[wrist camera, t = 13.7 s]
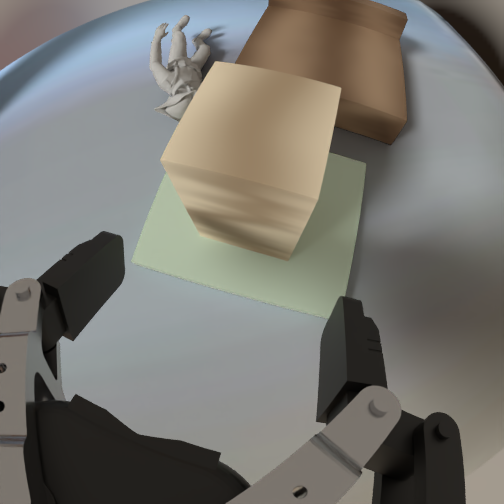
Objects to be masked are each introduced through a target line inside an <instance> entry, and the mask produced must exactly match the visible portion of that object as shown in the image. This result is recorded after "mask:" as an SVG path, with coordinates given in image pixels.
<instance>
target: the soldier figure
mask: <svg viewBox="0 0 504 504" xmlns="http://www.w3.org/2000/svg"><path fill="white" fill-rule="evenodd" d="M189 19H190V17H189V16H187V15H185V16H183V17H182V18H181V19H180V21H179V22H178V24H177V25H176V26H175V27H174V28H173V29H172V32H173V34H172V37H173V38H172V40H171V42H172V46H171V49H170V54H169V60H168V65H167V68H165V67H164V66H163V65H162V64H161V62H162V56H161V43H160V42H161V39H162V38H163V37H165V36H166V35H167V34H168V32H167V33H165V29H166V27H167V26H168V24H166V23H165V24H164V23H163V24H161V25H160V26H159V27H158V28H157V29H156V31H155V36H154V38H153V42H151V43H152V45H151V52H150V69H151V71H152V72H153V76H154V77H155V80H156V81H157V83H158V86H160V88H161V89H162V90H164V91H165V92H167V93H168V94H169V95H171V96H172V97H171V96H169V98H168V100H167V102H165V103H164V104H162V105H161V106H159V107H157V108H155V111H157V112H159V113H162V114H165V115H166V116H168V117H170V118H173V119H175V120H177V121H179V122H180V120H181V118H182V117H183V115H184V113H185V111H186V109H187V108H188V106H189V104H190V102H191V101H192V99H193V97H194V95H195V94H196V92H197V90H198V89H199V87H200V85H201V81H202V73H201V69H202V67H203V65H204V64H205V63H206V61H207V59H208V57H209V55H210V54H211V52H210V46H209V45H206V44H205V43H204V42H203V41H204V40H205V39H207V38H208V37H209V36H210V34H211V32H212V30H211V29H205V30H204V31H202V33H201V34H200V35H199V36H198V37H196V38H194V39H193V40H192V43H193V44H194V46H195V47H196V50H197V51H196V52H195V53H194V55H193V56H192V57H191V58H188V57H187V52H186V45H187V44H186V38H185V35H184V33H183V32H181V30H182V29H183V28H184V27H185V26H186V25H187V24H188V22H189ZM163 27H164V28H163Z"/></svg>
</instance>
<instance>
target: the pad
mask: <svg viewBox="0 0 504 504" xmlns="http://www.w3.org/2000/svg"><path fill="white" fill-rule="evenodd" d="M365 173H366V163H363V162H360V161H357V160H354V159H350V158H347V157H344V156H341V155H337V154H334V153H331V152H329V154H328V158H327V163H326V168H325V172H324V177H323V181H322V186H321V190H320V194H319V199H318V201H317V203H316V205H315V208H314V210H313V212H312V214H311V216H310V218H309V220H308V222H307V224H306V226H305V228H304V230H303V232H302V234H301V236H300V238H299V240H298V242H297V244H296V246H295V248H294V250H293V252H292V254H291V256H290V258H289V260H288V261H285V260H282V259H278V258H275V257H271V256H268V255H265V254H261V253H258V252H254V251H251V250H247V249H244V248H240V247H237V246H233V245H230V244H227V243H223V242H220V241H216V240H213V239H209V238H206V237H202V236H200V234H199V232H198V231H197V229H196V227H195V225H194V223H193V221H192V219H191V218H190V216H189V214H188V212H187V210H186V208H185V206H184V205H183V203H182V201H181V199H180V197H179V195H178V193H177V191H176V189H175V188H174V186H173V184H172V182H171V180H170V178H169V176H168V174H167V172H166V173H165V175H164V178H163V180H162V182H161V185H160V187H159V189H158V192H157V194H156V197H155V199H154V202H153V204H152V207H151V209H150V212H149V214H148V217H147V219H146V222H145V225H144V227H143V230H142V233H141V235H140V238H139V241H138V244H137V246H136V249H135V252H134V255H133V258H132V261H131V262H133V263H134V264H136V265H139V266H142V267H145V268H148V269H151V270H154V271H158V272H161V273H164V274H167V275H170V276H174V277H177V278H180V279H183V280H187V281H190V282H193V283H197V284H200V285H203V286H207V287H210V288H214V289H217V290H221V291H224V292H228V293H231V294H235V295H238V296H242V297H245V298H249V299H253V300H256V301H260V302H264V303H267V304H271V305H275V306H279V307H282V308H286V309H290V310H294V311H298V312H302V313H306V314H310V315H314V316H318V317H322V318H326V319H329V317H330V315H331V313H332V311H333V308H334V306H335V304H336V302H337V300H338V298H339V297H340V296H344V297H345V294H346V289H347V284H348V280H349V275H350V270H351V264H352V259H353V254H354V248H355V242H356V237H357V230H358V224H359V218H360V211H361V204H362V197H363V189H364V181H365Z"/></svg>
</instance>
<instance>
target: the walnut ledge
mask: <svg viewBox="0 0 504 504" xmlns="http://www.w3.org/2000/svg"><path fill="white" fill-rule="evenodd" d="M407 20H408V19H407V16H406V13H404V12H401V11H399V10H396V9H393V8H391V7H388V6H385V5H382V4H379V3H376V2H373V1H370V0H269V5H268V7H267V9H266V10H265V12H264V14H263V15H262V17H261V19H260V20H259V22H258V24H257V25H256V27H255V29H254V30H253V32H252V34H251V36H250V37H249V39H248V41H247V42H246V44H245V46H244V48H243V50H242V51H241V53H240V55H239V57H238V59H237V60H236V62H235V64H240V65H246V66H252V67H258V68H263V69H268V70H273V71H278V72H283V73H287V74H292V75H296V76H300V77H304V78H308V79H312V80H316V81H320V82H323V83H327V84H330V85H334V86H337V87H340V88H341V93H340V98H339V104H338V109H337V114H336V119H335V125H334V126H335V127H338V128H342V129H345V130H348V131H351V132H355V133H358V134H361V135H364V136H367V137H370V138H373V139H376V140H378V141H381V142H384V143H387V144H390V145H391V144H392V143H393V141H394V140H395V139H396V137H397V136H398V134H399V133H400V131H401V130H402V128H403V126H404V125H405V123H406V122H407V109H406V93H405V81H404V71H403V63H402V55H401V47H400V41H399V39H400V37H401V35H402V32H403V30H404V28H405V25H406V23H407Z"/></svg>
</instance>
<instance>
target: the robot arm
mask: <svg viewBox="0 0 504 504" xmlns="http://www.w3.org/2000/svg"><path fill="white" fill-rule="evenodd" d="M124 275H125V264H124V247H123V239H122V237H121V236H119V235H116V234H112V233H109V232H106V231H102V232H101V233H99V234H98V235H97V236H96V237H94V238H93V239H92V240H89V241H86V242H84V243H82V244H79V245H77V246H76V247H75V248H74V249H72V250H71V251H70V252H69V254H66V255H65V256H64V257H63V258H62V260H59V261H58V262H57V263H55V264H54V265H53V266H52V267H51V268H50V269H48V270H47V271H46V272H45V273H44V274H43V275H42V276H40V277H39V278H38V279H37V280H35V279H31V278H24V279H20V280H17V281H15V282H14V283H12V284H11V285H10V286H9V287H3V286H0V504H336V503H337V502H338V501H339V500H340V499H341V498H342V497H343V496H344V495H345V494H346V493H347V491H348V490H349V489H350V488H351V487H352V486H353V485H354V484H355V483H356V481H357V480H358V479H359V477H360V476H361V474H362V471H361V469H362V468H363V467H364V468H366V469H369V470H372V471H374V472H375V473H374V486H373V497H372V504H466V501H465V500H466V499H465V479H464V466H463V456H462V447H461V440H460V433H459V429H458V426H457V424H456V422H455V421H454V420H453V419H452V418H451V417H450V416H449V415H447V414H445V413H441V412H436V413H433V414H431V415H429V416H428V417H427V418H426V419H425V420H424V419H421V418H419V417H416V416H414V415H412V414H409V413H407V412H405V411H403V410H401V405H400V402H399V400H398V399H397V397H396V396H395V395H394V394H393V393H392V392H391V391H390V390H388V388H387V381H386V373H385V366H384V359H383V353H382V347H381V344H380V335H379V330H378V328H377V326H376V325H375V323H374V322H373V320H372V318H369V317H365V316H364V313H363V306H362V302H361V300H356V299H352V298H348V297H344V296H340V297H339V298H338V300H337V302H336V304H335V306H334V308H333V311H332V313H331V315H330V317H329V319H328V321H327V324H326V326H325V328H324V331H323V334H322V338H321V346H320V369H319V387H318V403H317V416H316V422H321V423H326V427H325V428H324V429H323V430H322V431H321V432H320V433H318V434H316V435H315V436H313V437H312V438H311V439H310V440H309V441H308V442H306V443H305V444H304V445H303V446H302V447H301V448H300V449H298V450H297V451H296V452H295V453H294V454H292V455H291V456H290V457H289V458H288V459H286V460H285V461H284V462H283V463H281V464H280V465H279V466H278V467H276V468H275V469H274V470H272V471H271V472H270V473H269V474H267V475H266V476H265V477H263V478H262V479H261V480H259V481H258V482H256V483H255V484H254V485H252V486H250V484H249V483H248V482H247V481H246V480H245V479H244V478H243V477H242V476H241V475H239V474H238V473H237V472H236V471H235V470H233V469H232V468H230V467H229V466H227V465H225V464H223V463H222V462H220V461H219V458H220V455H221V453H220V452H216V451H213V450H209V449H206V448H202V447H199V446H196V445H193V444H190V443H187V442H184V441H180V440H171V439H164V438H157V437H150V436H144V435H139V434H137V433H135V432H134V431H132V430H131V429H130V428H128V427H127V426H126V425H124V424H123V423H122V422H121V421H119V420H118V419H117V418H116V417H114V416H113V415H112V414H111V413H109V412H108V411H107V410H105V409H103V408H101V407H99V406H97V405H95V404H93V403H92V402H90V401H88V400H86V399H84V398H82V397H80V396H78V395H77V394H75V396H74V397H73V399H72V400H71V402H69V401H66V399H65V396H64V393H63V389H62V379H61V358H60V343H59V339H60V338H61V337H62V336H64V337H66V338H68V339H70V340H72V341H74V340H75V338H76V337H77V336H78V335H79V333H80V332H81V331H82V330H83V329H84V327H85V326H86V325H87V324H88V322H89V321H90V320H91V319H92V318H93V316H94V315H95V314H96V313H97V312H98V311H99V309H100V308H101V307H102V306H103V305H104V303H105V302H106V301H107V300H108V299H109V298H110V297H111V295H112V294H113V293H114V292H115V291H116V290H117V288H118V287H119V286H120V285H121V283H122V281H123V279H124Z"/></svg>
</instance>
